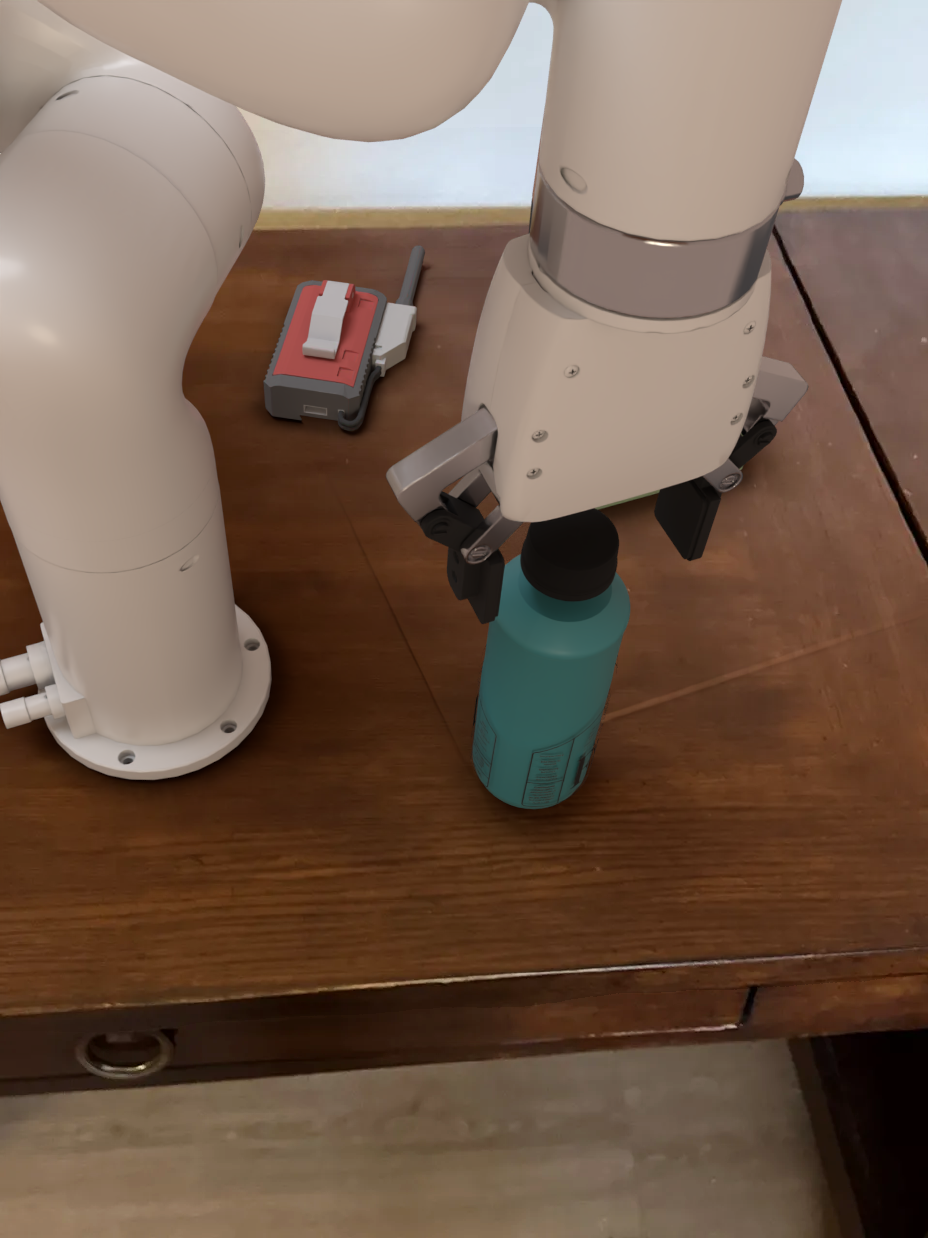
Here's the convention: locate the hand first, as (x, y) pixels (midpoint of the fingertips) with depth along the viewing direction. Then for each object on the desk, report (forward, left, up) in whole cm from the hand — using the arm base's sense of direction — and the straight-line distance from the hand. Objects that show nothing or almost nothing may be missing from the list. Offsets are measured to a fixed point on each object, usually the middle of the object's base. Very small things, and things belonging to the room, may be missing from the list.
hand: (578, 566), depth 52 cm
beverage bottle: (0, 0, -18) cm, 18 cm away
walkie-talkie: (+3, +37, -18) cm, 41 cm away
